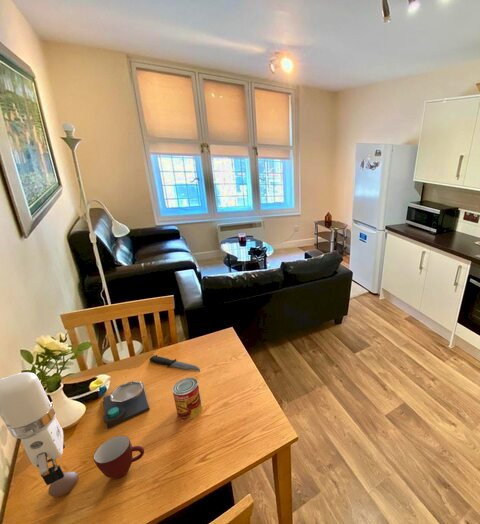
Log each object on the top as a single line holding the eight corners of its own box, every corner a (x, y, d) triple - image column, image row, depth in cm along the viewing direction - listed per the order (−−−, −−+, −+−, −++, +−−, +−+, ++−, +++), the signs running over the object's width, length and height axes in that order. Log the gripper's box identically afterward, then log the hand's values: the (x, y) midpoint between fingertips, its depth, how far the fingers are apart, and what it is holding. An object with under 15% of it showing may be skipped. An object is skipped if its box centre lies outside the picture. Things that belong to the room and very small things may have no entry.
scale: (106, 430, 96) (104, 424, 94) (102, 400, 106) (100, 394, 105) (150, 410, 103) (148, 404, 102) (143, 384, 114) (141, 379, 113)
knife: (205, 364, 124) (197, 373, 119) (205, 367, 124) (197, 375, 120) (155, 353, 128) (146, 360, 124) (156, 356, 129) (147, 363, 124)
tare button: (109, 419, 97) (108, 415, 96) (108, 413, 98) (107, 410, 98) (119, 415, 98) (118, 411, 98) (119, 409, 100) (117, 405, 100)
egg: (46, 504, 76) (41, 495, 74) (57, 481, 81) (52, 472, 79) (75, 495, 78) (70, 486, 77) (84, 473, 83) (80, 464, 82)
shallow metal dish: (112, 408, 100) (111, 406, 99) (109, 391, 106) (109, 389, 106) (144, 395, 106) (144, 392, 105) (140, 379, 112) (140, 377, 112)
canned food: (172, 414, 103) (166, 389, 98) (192, 398, 109) (187, 374, 105) (188, 423, 100) (182, 398, 95) (207, 406, 106) (202, 382, 102)
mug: (146, 448, 91) (139, 426, 87) (148, 470, 85) (141, 447, 81) (103, 467, 85) (94, 444, 81) (102, 492, 79) (92, 469, 75)
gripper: (52, 436, 66) (76, 482, 73) (55, 389, 78) (75, 433, 84) (3, 457, 61) (33, 504, 68) (14, 404, 73) (39, 449, 80)
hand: (56, 464), depth 76 cm, fingers open, 9 cm apart
